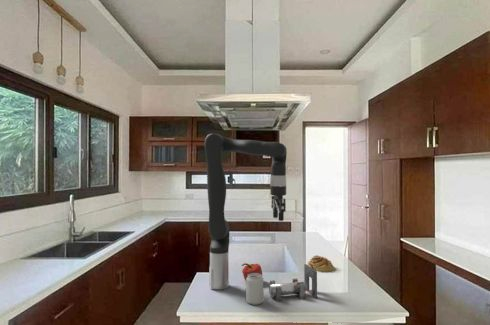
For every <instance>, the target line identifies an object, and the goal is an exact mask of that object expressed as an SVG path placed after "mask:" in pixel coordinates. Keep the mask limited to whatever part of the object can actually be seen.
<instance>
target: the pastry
mask: <svg viewBox="0 0 490 325" xmlns="http://www.w3.org/2000/svg"><path fill="white" fill-rule="evenodd" d="M307 265H308V266H309V267H311V268H312V269H314V270H315V271H317V273H328V272H334V271H335V270H336V269H335V268H336V267H335V266H334V264H333V263H332V261H331V260H329V259H327V258H326V257H324V256H319V255H317V254H316V255H314V256H313V257H311V259H310V260H309V261H308V262H307Z"/></svg>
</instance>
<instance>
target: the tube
mask: <svg viewBox="0 0 490 325" xmlns="http://www.w3.org/2000/svg"><path fill="white" fill-rule="evenodd" d="M300 284H304V281H299V280H298V281H295V282H294V283H293V282H285V283H275V284H272V285H270V284H268V294H269V296H270V297H273V296H276V287H278V286H280V287H281V296H288V295H296V294H299V285H300ZM304 285H305V284H304ZM305 292H307V291H306V287H305Z"/></svg>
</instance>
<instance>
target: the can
mask: <svg viewBox="0 0 490 325" xmlns="http://www.w3.org/2000/svg"><path fill="white" fill-rule="evenodd" d="M245 294H246V295H245V298H246V302H247V303H248V304H249V305H252V306H256V305H257V306H258V305H260V304H262V303H263V302H264V277H263V274H262V275H261V274H259V273H250V274H248V277H247V278H246V281H245Z"/></svg>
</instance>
